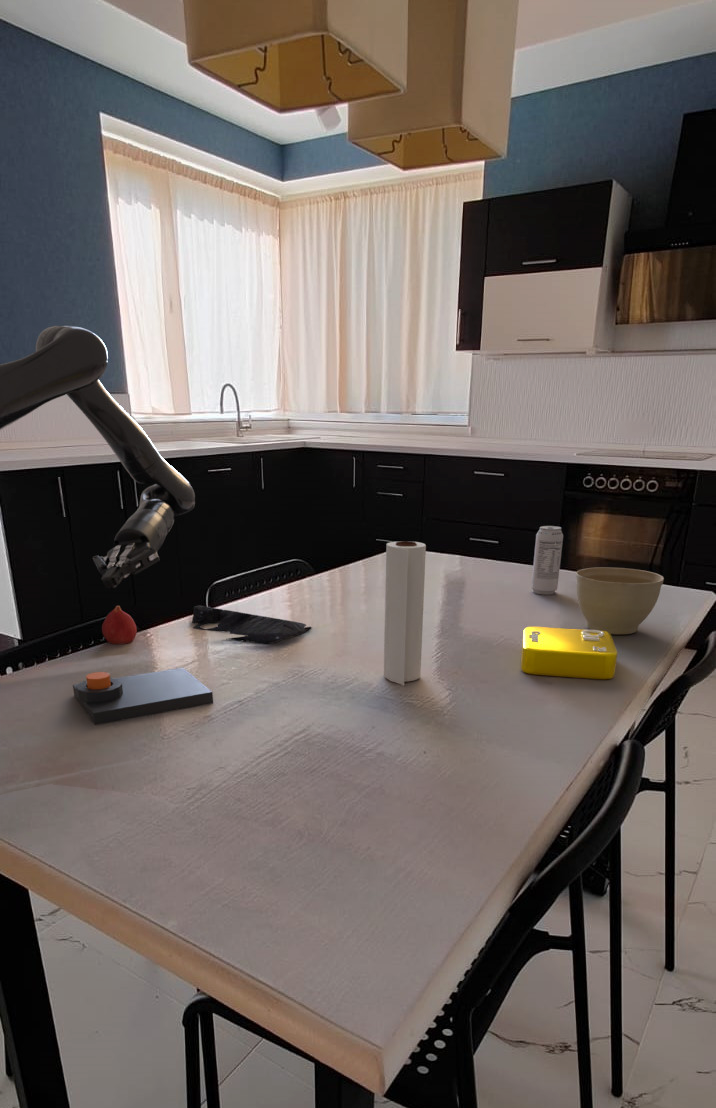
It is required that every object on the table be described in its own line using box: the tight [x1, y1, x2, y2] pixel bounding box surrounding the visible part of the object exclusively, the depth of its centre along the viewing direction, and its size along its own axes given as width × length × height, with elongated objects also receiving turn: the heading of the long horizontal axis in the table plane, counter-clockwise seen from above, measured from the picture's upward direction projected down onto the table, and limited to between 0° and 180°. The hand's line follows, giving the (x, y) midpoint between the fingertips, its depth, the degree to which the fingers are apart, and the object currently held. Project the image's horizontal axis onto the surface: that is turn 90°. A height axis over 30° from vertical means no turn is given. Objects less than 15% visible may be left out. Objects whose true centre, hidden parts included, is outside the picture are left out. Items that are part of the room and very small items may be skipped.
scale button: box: [85, 671, 111, 689], centre depth 110 cm, size 3×3×2 cm
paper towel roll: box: [383, 540, 427, 687], centre depth 120 cm, size 7×6×21 cm
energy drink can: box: [530, 525, 564, 596], centre depth 179 cm, size 6×6×15 cm
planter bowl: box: [575, 566, 665, 635], centre depth 150 cm, size 16×16×11 cm
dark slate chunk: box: [191, 605, 312, 645], centre depth 147 cm, size 15×22×5 cm
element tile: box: [520, 625, 618, 681], centre depth 131 cm, size 15×15×5 cm
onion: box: [101, 605, 138, 645], centre depth 136 cm, size 6×6×8 cm
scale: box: [72, 667, 214, 726], centre depth 113 cm, size 18×13×4 cm
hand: (108, 583), depth 131 cm, fingers closed
